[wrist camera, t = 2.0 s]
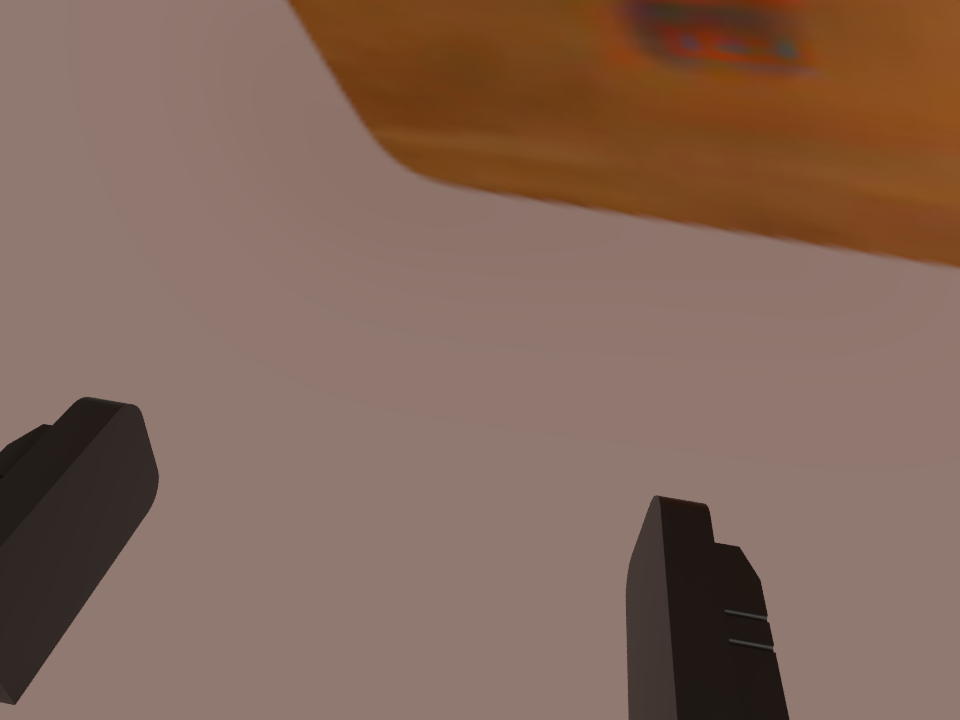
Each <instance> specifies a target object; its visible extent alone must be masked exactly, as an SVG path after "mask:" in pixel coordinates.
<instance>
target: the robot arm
mask: <svg viewBox="0 0 960 720" xmlns="http://www.w3.org/2000/svg"><path fill="white" fill-rule="evenodd" d="M158 480H159V475H158V469H157V466H156V462H155V458H154V455H153V451H152V448H151V444H150V440H149V437H148V433H147V430H146V426H145V423H144V419H143V416H142V413H141V411H140V409H139V408H138V407H137V406H135V405H133V404H126V403H120V402H115V401H109V400H103V399H97V398H91V397H84V398H81V399H79V400H77V401H76V402H75V403H74V404H73V405H72V406H71V407H70V408H69V409H68V410H67V411H66V412H65V413H64V414H63V415H62V416H61V417H60V418H59V419H58V420H57V421H56V422H55V423H54V424H53V425H46V424H43V425H41V426H39V427H38V428H36V429H34V430H32V431H31V432H29V433H27V434H26V435H24V436H22V437H20V438H19V439H17V440H15V441H13V442H12V443H10V444H8V445H7V446H6V447H5V448H4V449H3V450H2V451H1V452H0V702H3V703H7V704H12V705H15V704H16V703H17V701H18V700H19V699H20V697H21V696H22V694H23V693H24V691H25V690H26V688H27V687H28V686H29V684H30V683H31V681H32V679H33V678H34V677H35V675H36V674H37V672H38V671H39V670H40V668H41V667H42V665H43V664H44V662H45V661H46V659H47V658H48V656H49V655H50V654H51V652H52V650H53V649H54V648H55V646H56V645H57V643H58V642H59V641H60V639H61V638H62V636H63V634H64V633H65V632H66V630H67V629H68V627H69V626H70V625H71V623H72V622H73V620H74V619H75V617H76V616H77V614H78V613H79V611H80V610H81V608H82V607H83V606H84V604H85V603H86V601H87V600H88V598H89V597H90V596H91V594H92V593H93V591H94V590H95V588H96V587H97V585H98V584H99V582H100V581H101V580H102V578H103V577H104V575H105V574H106V572H107V571H108V569H109V568H110V567H111V565H112V564H113V562H114V561H115V559H116V558H117V556H118V555H119V553H120V552H121V551H122V549H123V548H124V546H125V545H126V543H127V542H128V540H129V539H130V537H131V536H132V535H133V533H134V532H135V530H136V529H137V527H138V526H139V524H140V523H141V521H142V520H143V519H144V517H145V516H146V514H147V513H148V511H149V510H150V508H151V506H152V504H153V502H154V499H155V496H156V493H157V489H158ZM767 616H768V615H767V610H766V605H765V600H764V595H763V590H762V586H761V581H760V579H759V577H758V576H757V574H756V572H755V571H754V569H753V568H752V566H751V564H750V563H749V561H748V560H747V558H746V557H745V555H744V553H743V552H742V550H741V549H740V547H737V546H732V545H726V544H720V543H715V542H714V536H713V529H712V523H711V517H710V511H709V508H708V506H707V505H706V504H703V503H697V502H692V501H686V500H680V499H674V498H668V497H662V496H657V495H656V496H654V497H653V499H652V501H651V503H650V506H649V508H648V511H647V514H646V517H645V520H644V523H643V525H642V528H641V531H640V534H639V537H638V539H637V542H636V545H635V548H634V551H633V553H632V557H631V560H630V564H629V569H628V575H627V584H626V621H627V622H626V625H627V665H628V666H627V667H628V704H629V705H628V706H629V707H628V708H629V720H789V715H788V711H787V706H786V701H785V697H784V692H783V687H782V682H781V677H780V672H779V667H778V662H777V658H776V653H774V652H773V646H774V643H773V639H772V634H771V629H770V624H769V622H767Z"/></svg>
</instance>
